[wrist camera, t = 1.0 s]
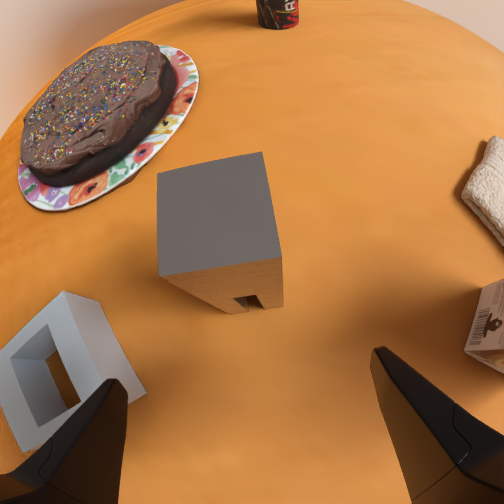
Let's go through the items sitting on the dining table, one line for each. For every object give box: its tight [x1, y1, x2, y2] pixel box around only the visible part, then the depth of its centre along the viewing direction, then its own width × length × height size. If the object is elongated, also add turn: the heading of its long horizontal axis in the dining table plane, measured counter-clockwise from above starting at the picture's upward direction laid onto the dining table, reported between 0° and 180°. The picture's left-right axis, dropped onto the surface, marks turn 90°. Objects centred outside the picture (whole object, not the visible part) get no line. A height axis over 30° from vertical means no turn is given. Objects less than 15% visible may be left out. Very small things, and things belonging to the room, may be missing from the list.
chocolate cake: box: [18, 41, 199, 212], centre depth 28 cm, size 28×28×7 cm
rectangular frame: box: [0, 291, 147, 453], centre depth 19 cm, size 9×14×5 cm, turn 125°
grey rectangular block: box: [157, 152, 283, 314], centre depth 16 cm, size 4×4×13 cm
